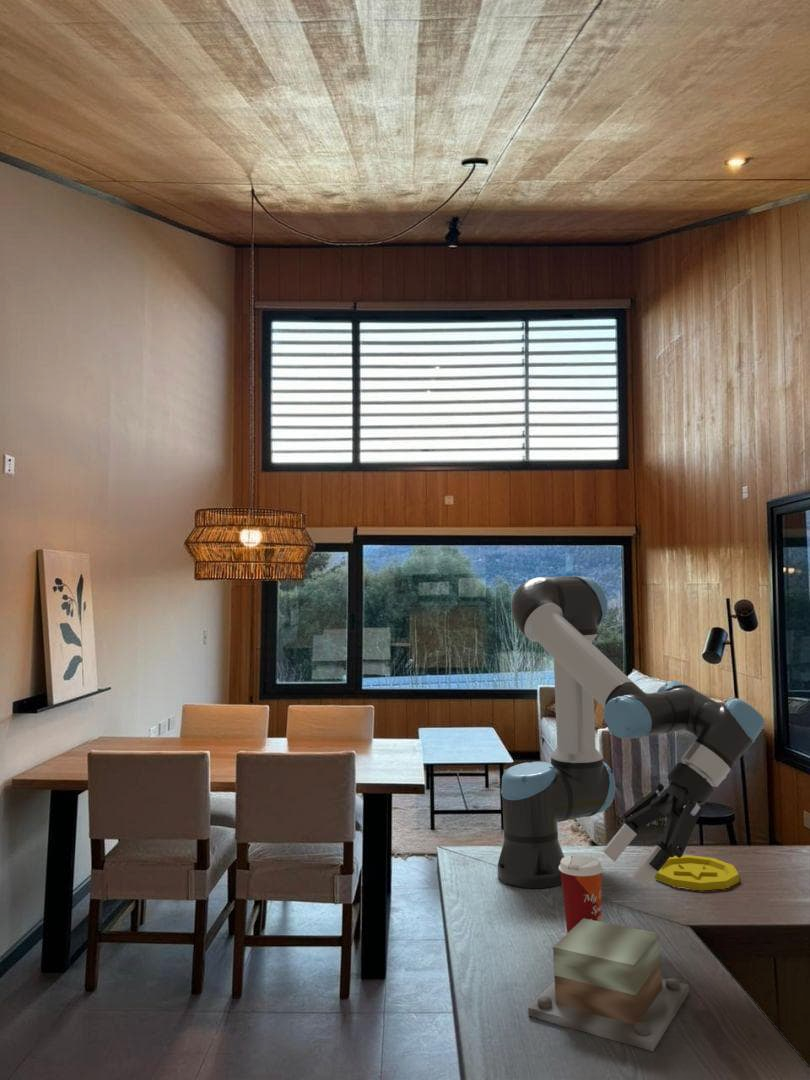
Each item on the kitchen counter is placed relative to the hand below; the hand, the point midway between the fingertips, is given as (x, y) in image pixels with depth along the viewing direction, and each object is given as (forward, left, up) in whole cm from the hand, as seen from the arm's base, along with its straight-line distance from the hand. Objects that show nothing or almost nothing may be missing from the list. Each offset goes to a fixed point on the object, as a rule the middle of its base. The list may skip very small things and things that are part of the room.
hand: (622, 868), depth 139 cm
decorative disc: (+2, +38, -13) cm, 41 cm away
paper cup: (-6, -4, -13) cm, 15 cm away
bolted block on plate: (+5, -22, -12) cm, 25 cm away
